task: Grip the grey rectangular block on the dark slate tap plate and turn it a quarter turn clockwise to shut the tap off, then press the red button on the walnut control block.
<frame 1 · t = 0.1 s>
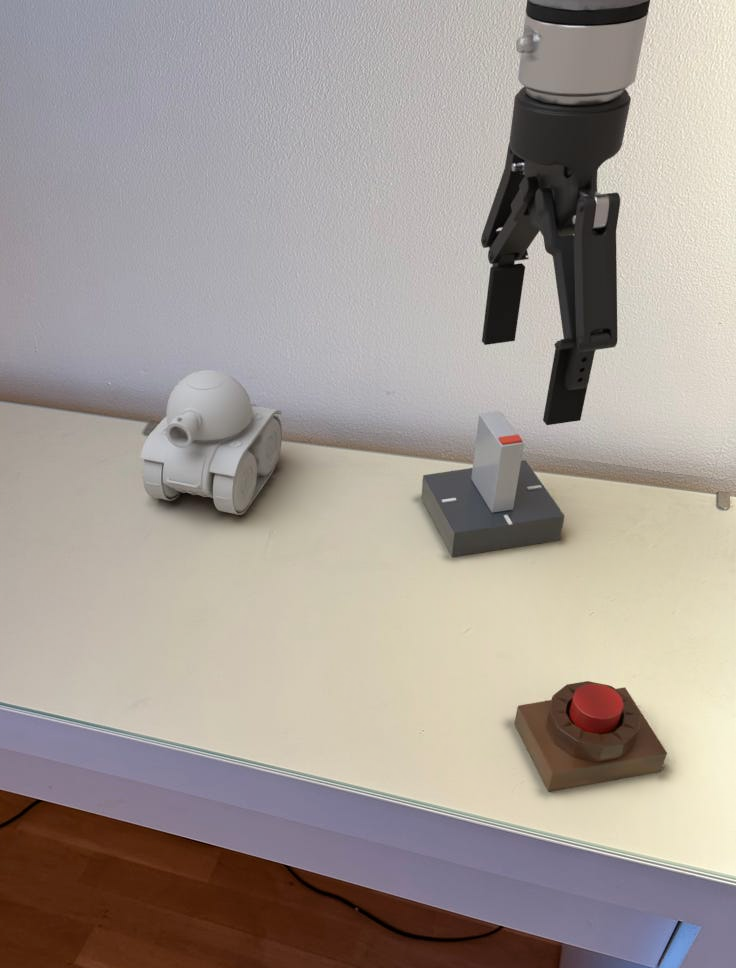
hand: (527, 378, 79), 19 cm above the table, tool pointing down, fingers open, 13 cm apart
button block: (585, 746, 75), on the table
toy tank: (216, 486, 104), on the table
grey rectangular block: (496, 460, 92), point 7 cm above the table, hinge at 90.0°
button: (596, 708, 72), point 4 cm above the table, slide at 0.1 cm
tap plate: (488, 519, 97), on the table
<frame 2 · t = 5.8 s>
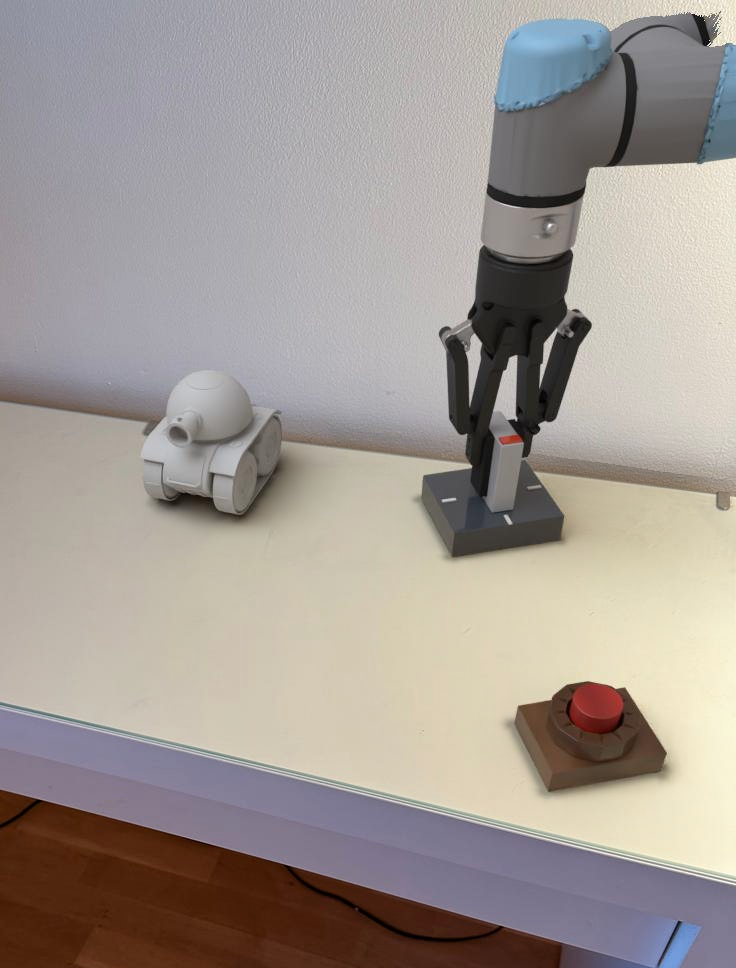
hand: (492, 486, 94), 4 cm above the table, tool pointing down, fingers closed on grey rectangular block, 2 cm apart
grey rectangular block: (496, 460, 92), point 7 cm above the table, hinge at 90.1°, touching gripper
everything else where it was.
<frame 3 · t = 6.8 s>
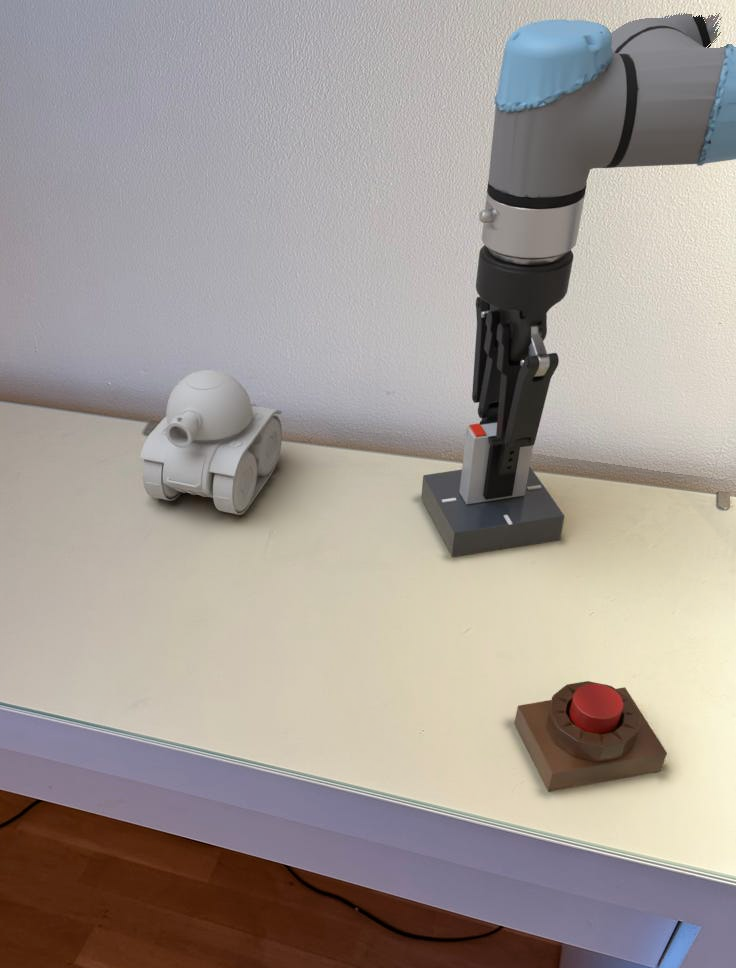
hand: (492, 486, 94), 4 cm above the table, tool pointing down, fingers closed on grey rectangular block, 2 cm apart
grey rectangular block: (496, 460, 92), point 7 cm above the table, hinge at 0.1°, touching gripper
everything else where it was.
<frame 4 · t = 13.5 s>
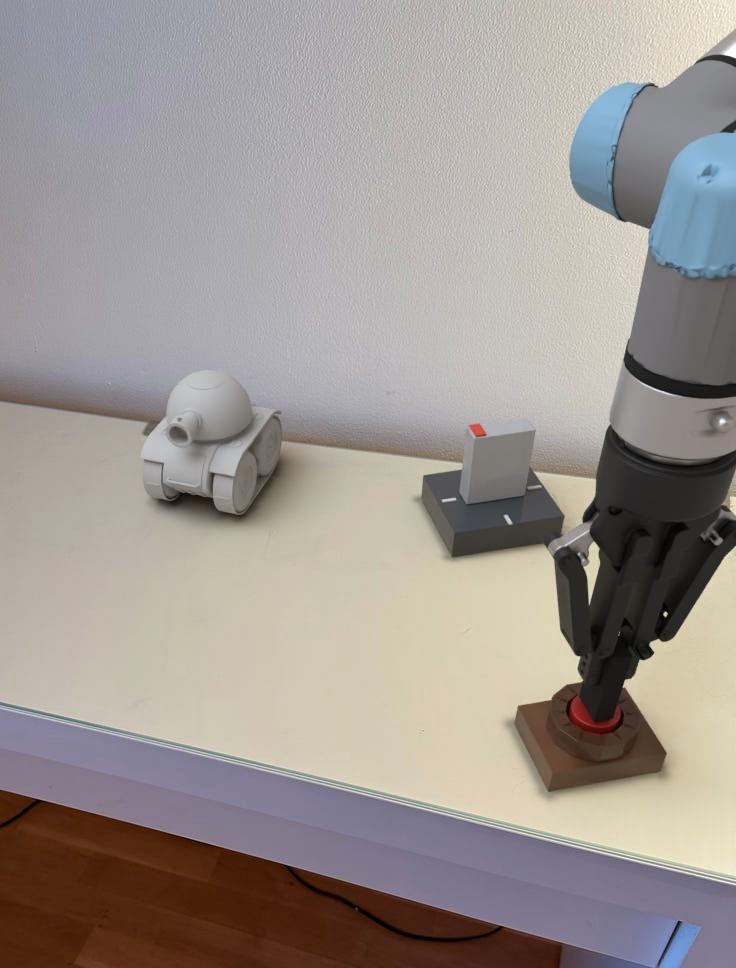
hand: (595, 707, 72), 5 cm above the table, tool pointing down, fingers closed
grey rectangular block: (496, 460, 92), point 7 cm above the table, hinge at 0.1°
button: (593, 716, 73), point 4 cm above the table, slide at -0.8 cm, touching gripper
everything else where it was.
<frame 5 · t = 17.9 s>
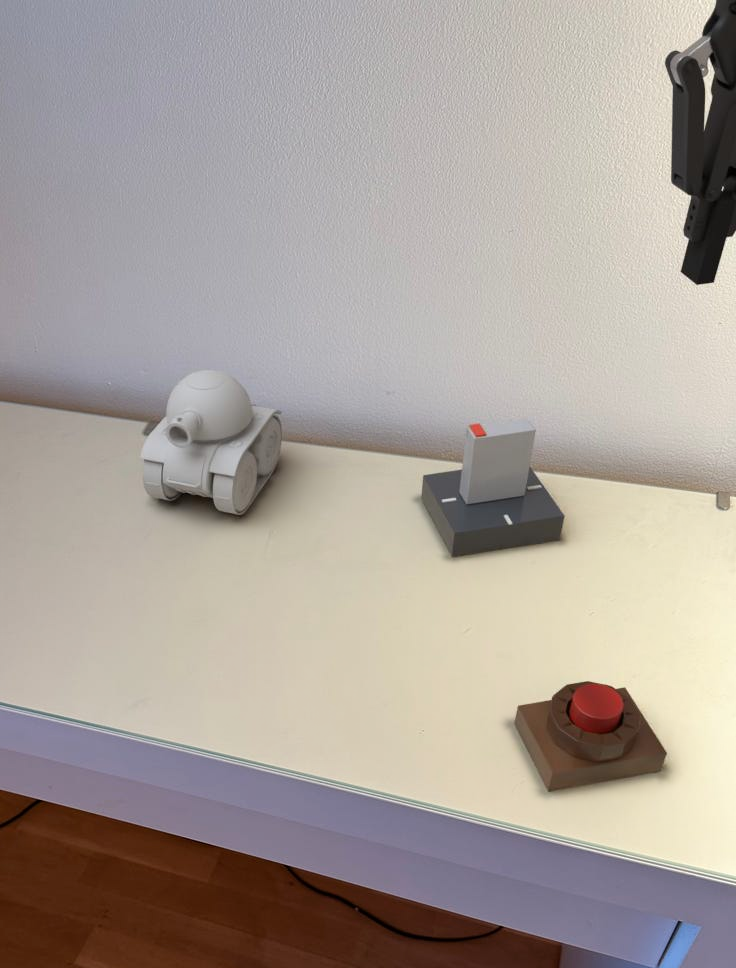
hand: (697, 276, 79), 24 cm above the table, tool pointing down, fingers closed
button: (596, 708, 72), point 4 cm above the table, slide at 0.1 cm
everything else where it was.
at the end: grey rectangular block at +0° (first picture: +90°); button pushed in 1.0 cm at the most during the clip, back to where it started at the end; button slide at 0.1 cm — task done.
